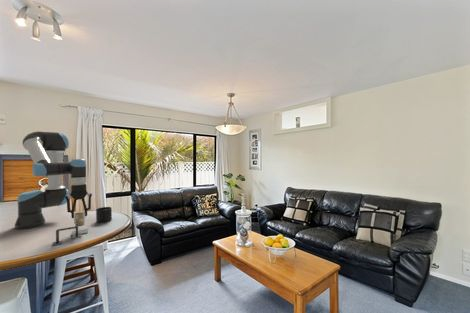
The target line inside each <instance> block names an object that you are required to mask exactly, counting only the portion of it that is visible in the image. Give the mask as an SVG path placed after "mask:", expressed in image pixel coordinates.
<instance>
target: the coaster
mask: <svg viewBox="0 0 470 313" xmlns="http://www.w3.org/2000/svg"><path fill="white" fill-rule="evenodd" d="M88 231H89V229H88V228H83V229H78V235H79V234H81V236H82V235H86V234H87V235H88V233H89V232H88ZM73 235H76V230H72V231H71V233H70V237H73Z"/></svg>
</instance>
